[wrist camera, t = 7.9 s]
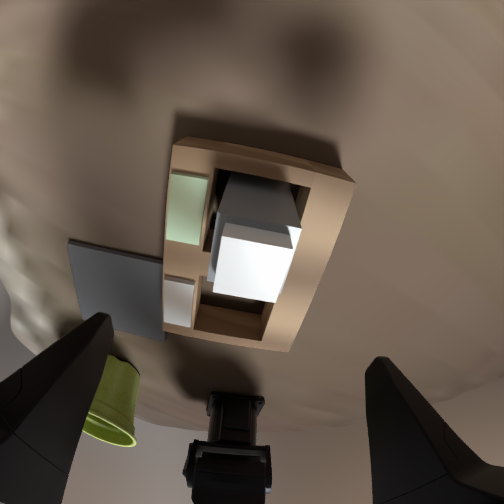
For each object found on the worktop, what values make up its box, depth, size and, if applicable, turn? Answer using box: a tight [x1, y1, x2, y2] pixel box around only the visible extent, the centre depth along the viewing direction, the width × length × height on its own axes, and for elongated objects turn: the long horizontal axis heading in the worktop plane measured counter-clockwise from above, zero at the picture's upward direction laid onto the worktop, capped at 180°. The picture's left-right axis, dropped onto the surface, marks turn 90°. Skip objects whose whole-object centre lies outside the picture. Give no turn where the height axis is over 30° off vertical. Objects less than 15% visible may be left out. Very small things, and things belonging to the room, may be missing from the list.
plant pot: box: [82, 355, 140, 447], centre depth 26 cm, size 9×9×9 cm
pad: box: [67, 241, 166, 342], centre depth 23 cm, size 9×9×1 cm
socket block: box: [163, 136, 356, 352], centre depth 19 cm, size 14×10×3 cm
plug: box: [207, 171, 302, 303], centre depth 15 cm, size 4×4×8 cm
